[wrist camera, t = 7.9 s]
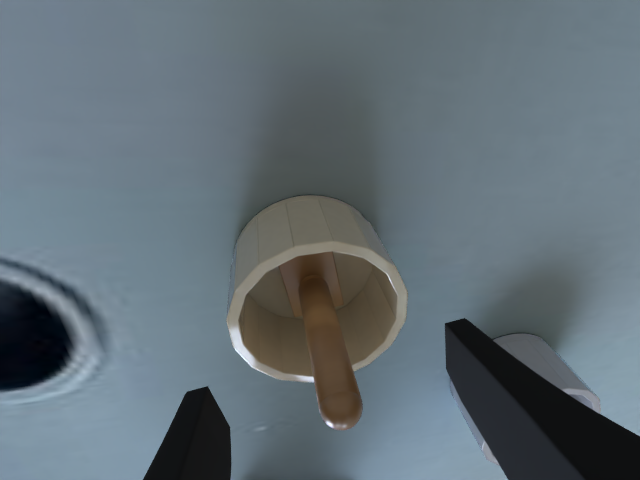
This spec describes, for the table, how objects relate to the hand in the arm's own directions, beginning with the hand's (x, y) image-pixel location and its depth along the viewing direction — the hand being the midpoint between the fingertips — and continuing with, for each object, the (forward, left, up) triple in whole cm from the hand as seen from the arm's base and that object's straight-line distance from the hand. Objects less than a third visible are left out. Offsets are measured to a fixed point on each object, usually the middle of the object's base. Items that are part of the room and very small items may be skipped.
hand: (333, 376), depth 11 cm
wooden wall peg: (0, 0, -6) cm, 6 cm away
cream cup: (0, 0, -6) cm, 6 cm away
